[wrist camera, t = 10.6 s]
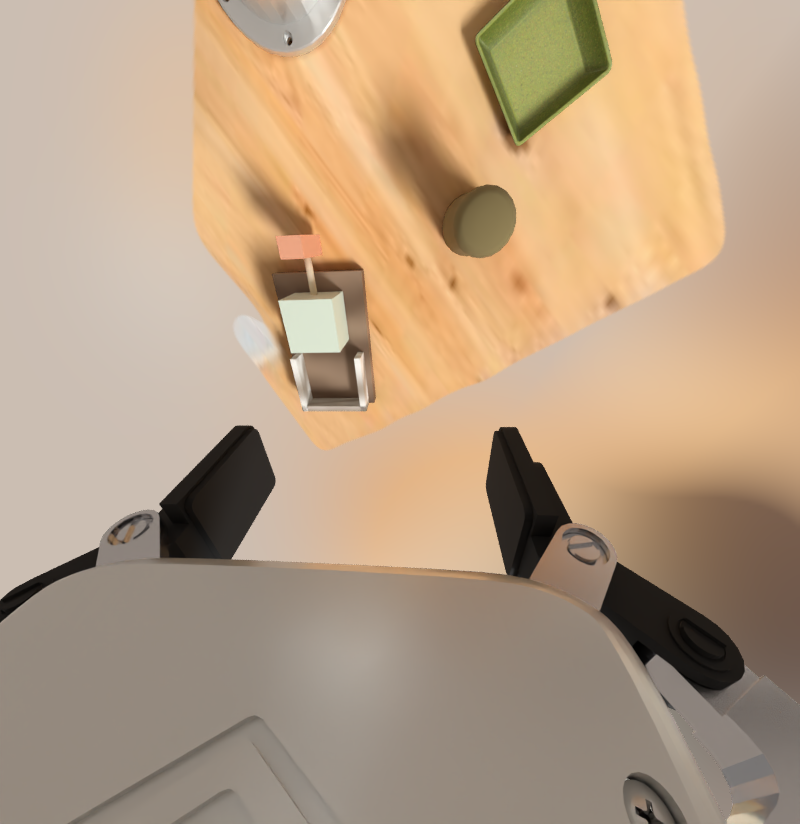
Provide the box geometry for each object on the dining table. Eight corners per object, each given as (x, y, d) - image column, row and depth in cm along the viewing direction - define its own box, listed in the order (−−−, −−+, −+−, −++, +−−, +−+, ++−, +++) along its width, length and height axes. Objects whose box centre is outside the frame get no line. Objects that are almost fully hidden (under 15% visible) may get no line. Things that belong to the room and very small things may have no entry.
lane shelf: (277, 272, 37) (262, 276, 33) (363, 269, 36) (357, 273, 32) (307, 397, 46) (297, 411, 43) (375, 397, 45) (371, 411, 42)
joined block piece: (283, 236, 33) (257, 236, 28) (334, 233, 32) (318, 233, 27) (305, 340, 39) (287, 356, 34) (349, 339, 39) (337, 355, 34)
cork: (431, 235, 33) (434, 236, 24) (465, 178, 30) (483, 154, 21) (472, 267, 35) (490, 279, 25) (508, 215, 32) (543, 208, 23)
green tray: (568, -49, 23) (580, -73, 21) (601, 79, 26) (614, 68, 25) (470, 50, 26) (473, 37, 24) (511, 153, 29) (516, 148, 28)
